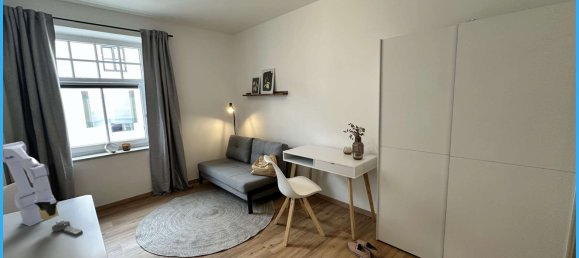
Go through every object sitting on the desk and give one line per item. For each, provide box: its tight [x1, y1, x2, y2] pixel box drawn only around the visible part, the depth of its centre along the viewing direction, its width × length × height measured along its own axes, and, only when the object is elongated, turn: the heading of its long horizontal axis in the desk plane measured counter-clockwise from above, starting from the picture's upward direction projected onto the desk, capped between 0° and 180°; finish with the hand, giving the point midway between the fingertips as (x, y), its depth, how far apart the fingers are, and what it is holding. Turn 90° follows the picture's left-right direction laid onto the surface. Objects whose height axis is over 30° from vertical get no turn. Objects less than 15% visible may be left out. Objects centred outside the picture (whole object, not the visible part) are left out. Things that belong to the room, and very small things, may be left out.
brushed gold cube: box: [39, 206, 59, 221], centre depth 130 cm, size 5×5×5 cm
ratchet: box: [51, 218, 84, 237], centre depth 130 cm, size 19×7×4 cm, turn 67°
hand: (49, 214), depth 130 cm, fingers closed on brushed gold cube, 5 cm apart
